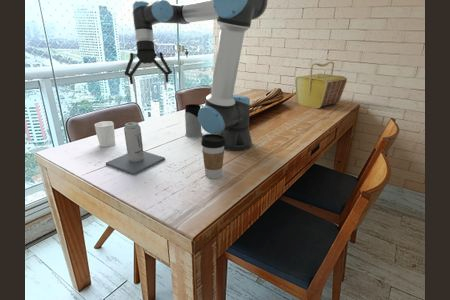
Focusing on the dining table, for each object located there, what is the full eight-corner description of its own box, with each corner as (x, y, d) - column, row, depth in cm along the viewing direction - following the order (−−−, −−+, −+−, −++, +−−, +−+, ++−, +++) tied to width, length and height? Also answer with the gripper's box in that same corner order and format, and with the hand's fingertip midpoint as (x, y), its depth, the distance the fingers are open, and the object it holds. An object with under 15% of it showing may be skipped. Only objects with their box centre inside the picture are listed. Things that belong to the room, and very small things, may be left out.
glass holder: (181, 135, 137) (180, 106, 131) (197, 128, 149) (196, 101, 143) (196, 138, 133) (195, 109, 127) (210, 130, 145) (210, 102, 139)
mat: (165, 159, 111) (164, 157, 110) (134, 175, 98) (133, 173, 98) (137, 151, 118) (137, 149, 118) (106, 164, 106) (105, 162, 106)
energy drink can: (140, 163, 105) (135, 126, 99) (125, 162, 106) (120, 125, 100) (146, 157, 110) (142, 122, 105) (133, 156, 111) (128, 121, 105)
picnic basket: (313, 98, 220) (318, 60, 209) (343, 104, 202) (351, 62, 191) (291, 104, 203) (295, 62, 191) (322, 111, 185) (329, 65, 173)
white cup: (110, 148, 121) (106, 127, 117) (94, 146, 123) (90, 125, 119) (120, 142, 128) (116, 121, 125) (105, 140, 130) (101, 120, 126)
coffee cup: (202, 170, 103) (201, 132, 97) (224, 169, 103) (224, 132, 98) (202, 181, 95) (201, 141, 89) (226, 180, 96) (226, 140, 90)
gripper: (173, 42, 125) (177, 89, 130) (115, 43, 119) (122, 92, 124) (174, 39, 118) (178, 89, 123) (113, 39, 112) (120, 92, 117)
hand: (150, 90), depth 123 cm, fingers open, 13 cm apart
